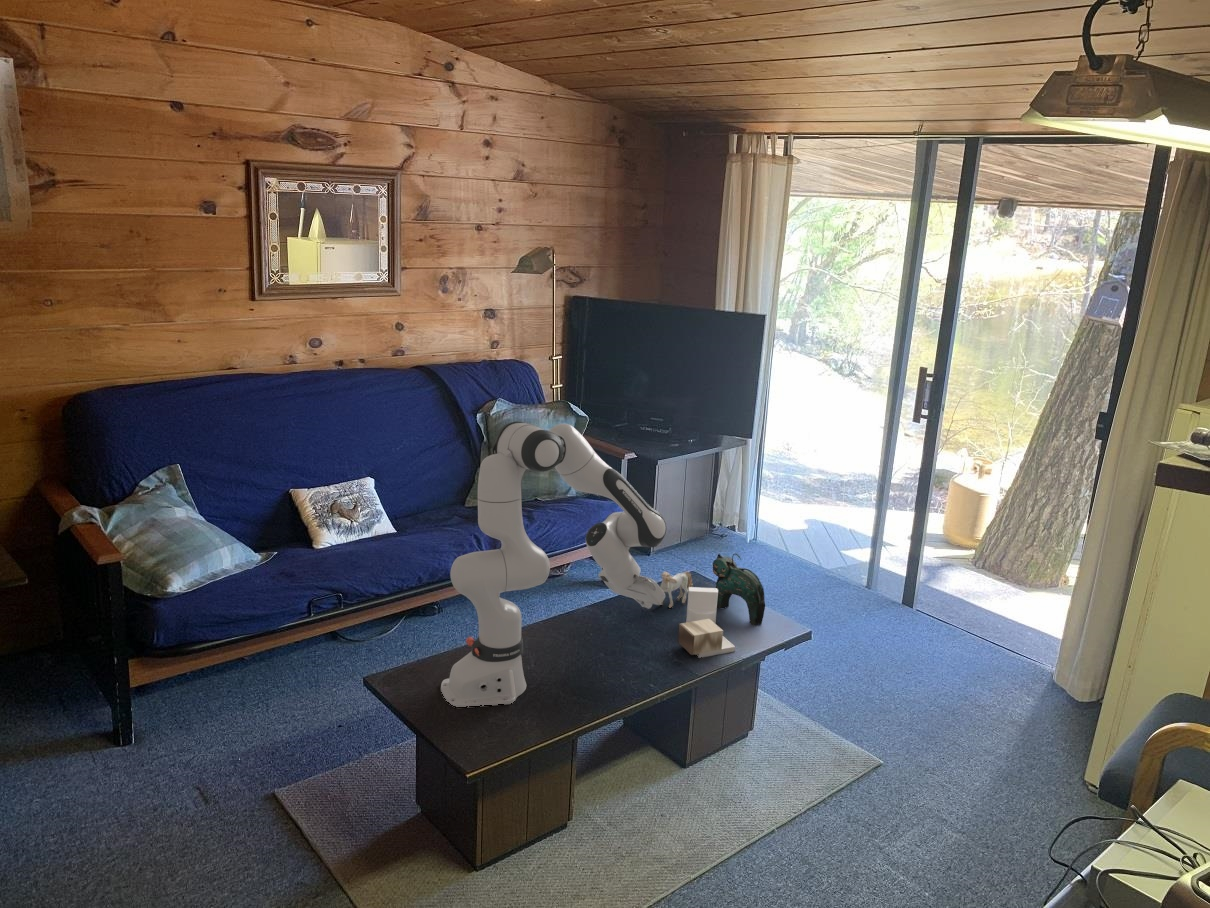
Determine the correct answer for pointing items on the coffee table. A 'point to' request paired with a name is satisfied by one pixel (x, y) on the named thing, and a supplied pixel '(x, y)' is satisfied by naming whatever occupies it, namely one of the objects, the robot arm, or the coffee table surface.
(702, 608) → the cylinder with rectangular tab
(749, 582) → the ceramic cat
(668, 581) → the unicorn figurine
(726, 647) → the board
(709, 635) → the birch block
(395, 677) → the coffee table surface
